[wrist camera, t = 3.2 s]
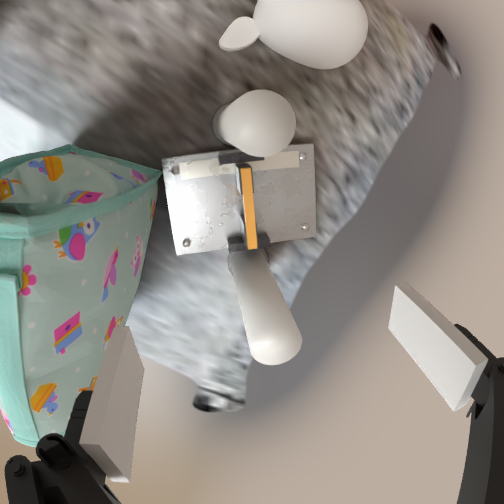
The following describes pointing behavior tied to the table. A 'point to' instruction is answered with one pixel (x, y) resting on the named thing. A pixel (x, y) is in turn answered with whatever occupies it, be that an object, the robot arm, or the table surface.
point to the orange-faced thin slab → (247, 205)
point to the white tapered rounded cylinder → (263, 308)
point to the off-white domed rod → (256, 123)
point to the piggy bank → (303, 30)
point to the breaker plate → (239, 198)
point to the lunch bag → (65, 276)
